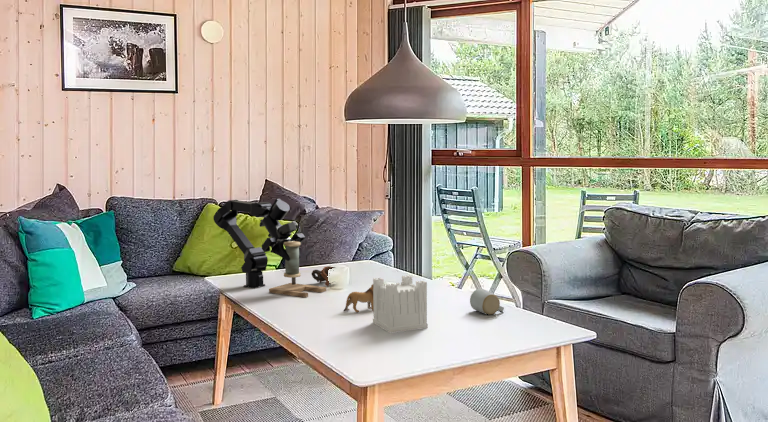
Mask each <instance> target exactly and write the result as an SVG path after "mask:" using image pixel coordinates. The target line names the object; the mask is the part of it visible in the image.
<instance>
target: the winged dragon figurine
mask: <svg viewBox="0 0 768 422" xmlns="http://www.w3.org/2000/svg"><path fill="white" fill-rule="evenodd" d="M332 268H336V267H335V266H332V265H331V266H329V265H328V266H327V265H326V266H324V267H323V268H322V269H321V270H319V269H313V270H312V271H311V276H312V278H313V279H314V280H315V281H316V282H317V283H319V284H321V283H323V282H324V285H325V287H329V286H330V285H329V281H328V277H327V276H328V270H329V269H332Z"/></svg>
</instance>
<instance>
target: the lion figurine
mask: <svg viewBox="0 0 768 422" xmlns="http://www.w3.org/2000/svg"><path fill="white" fill-rule="evenodd" d="M359 302H360V303H362V304H365V303H367V310H372V311H373V312H374V305H373V283H372V284H371V286H370V287H368V289H367V290H366V291H364V292H363V291H361V292H359V291H352V292H351V293H349V294H348V296H347V298H346V301H345V307H344V309H343V312H347V311H349V312H350V308H349V306H351V305H352V308H353V309H352V310H354V311H355V313H359V312H360V310H359V309H357V305H358V303H359Z"/></svg>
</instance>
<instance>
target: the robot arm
mask: <svg viewBox="0 0 768 422" xmlns="http://www.w3.org/2000/svg"><path fill="white" fill-rule="evenodd" d="M290 209H291V208H290V205H289V203H287V202H286V201H284V200H282V199H281V198H275V200H274V201H273V204H272V203H271V202H270V201H261V202H249V201H243V200H238V199H229V200H227V201H226V202H225V203H224V204H223V205H222V206H221V207H219V208H218V209H217V210H216V211H215V213H214V215H213V222H214V223H215V225H216V226H218V228H219V229H222V230H225V232H227V233H228V235H229V236H230V237H231V239H232V240H233V241H234V244H235V245H236V246H237V247H238V248H239V249H240V251H241V252H242V253H243V260H244V263H243V264H242V266H241V267H240V268H241V272H242V273H244V274H245V284H243V287H244V288H251V289H257V288H261V287H265V286H266V284H265V283H264V275H263V271H267V270H266V269H267V267H268V261H269V260H268V256H267V255H266V254H267V252H270V253H271V254H272V253H273V254H275V255H277V256H278V257H281V258H282V259H284V260H285V259H286V260H287V261H289V260H290V257H289V255H288V254H287V252H286V250H285V246H284V242H288V241H297V242H301V243H303V241H304V240H305V239H306V236H305V235H304V233H303V232H302V233H301V232H298V233H294V234H293V235H292V233H293V232H296V231H297V229H299V224H298V222H296V220H293V221H291V222H287V223H284V224H281V222H280V221H282V220H283V219H284V218H285V216H287V214H288V212H289V211H290ZM239 212H244V213H249V214H250V215H251V216H253V217H255V218H262V219H260V220H259V221H260V222H259V228H261V227H264V228H265V229H266V231H267V232H268V234H267V236H268V237H266V239H265V240H264V241H263V243H262V244H261V246H257V247H255V246H254V245H253V244H252V242H251V241H250V240H249V238H248V237H247V236H246V235H245V233H244V232H243V231H242V229H241V228H240V227H239V225H238V223H237V217H238V215H239ZM291 235H292V236H291ZM300 259H301V252H300V251H299V260H300Z"/></svg>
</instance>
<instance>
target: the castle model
mask: <svg viewBox="0 0 768 422" xmlns="http://www.w3.org/2000/svg"><path fill="white" fill-rule="evenodd" d="M372 282H373V283H372V284H373V305H374V311H373V318H372V323H373V324H375V326H377V327H380V329H383V331H386V332H388V333H389V334H390V333H391V334H392V333H398V332H406V331H414V330H421V329H422V330H423V329H428V327H429V326H428V325H429V324H428V302H427V301H428V300H427V299H428V298H427V296H428V287H427V286H428V283H427V281H425V280H420V281H419V280H417V281H415V284H413V276H412V275H409V274H407V275H402V276H401V282H395V283H394V282H393V283H386V284H384V283H385V280H384V278H381V277H375V278H374V277H373V278H372Z"/></svg>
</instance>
